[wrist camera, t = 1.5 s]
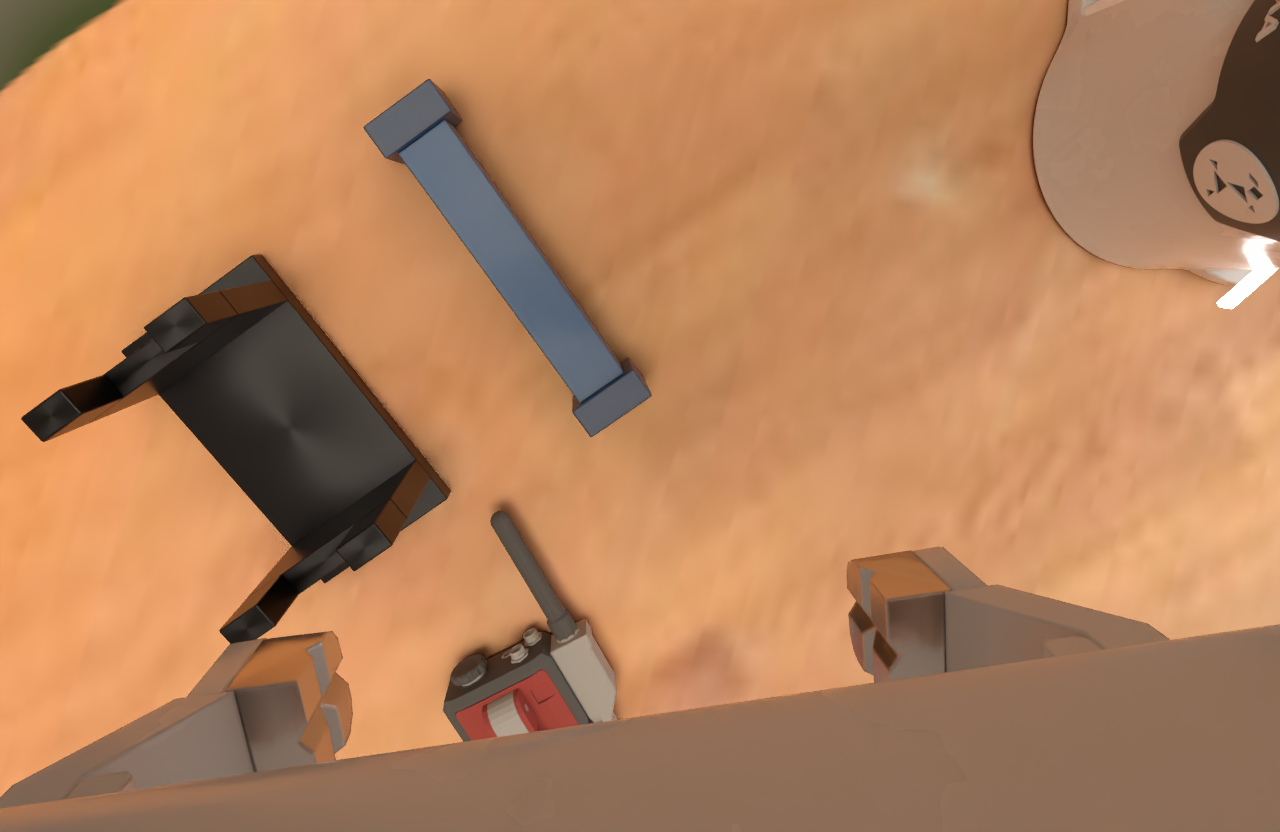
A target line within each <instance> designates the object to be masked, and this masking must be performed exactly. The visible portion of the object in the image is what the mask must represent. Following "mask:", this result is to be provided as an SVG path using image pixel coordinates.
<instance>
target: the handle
mask: <svg viewBox="0 0 1280 832" xmlns="http://www.w3.org/2000/svg"><path fill="white" fill-rule="evenodd" d="M461 121H462V118H461V117H460V115H459V114H458V112H457V111H456V110H455V108H454V107H453V105H452V104H451V102H450V101H449V100H448V98H447V97H446V95H445V94H444V92H443V91H442V90H441V89H440V88H439V87H438V86H437V85H435V84H434V83H433V82H432V81H431V80H430V79H428V80H426V81H425V82H424V83H422V84H421V85H420V86H418V87H417V88H416V89H414V90H413V91H411V92H410V93H409V94H407V95H406V96H405V97H403V98H402V99H401V100H399V101H398V102H397V103H395V104H394V105H393V106H391V107H390V108H388V109H387V110H386V111H384V112H383V113H382V114H380V115H379V116H378V117H376V118H375V119H374V120H372V121H371V122H369V123H368V124H367V125H365V126H364V129H365V131H366V132H367V134H368V135H369V136H370V138H371V139H372V140H373V142H374V143H375V144H376V146H377V147H378V148H379V150H380V151H381V153H382V154H383V155H384V157H385V158H387V159H390V160H393V161H396V162H399V163H402V164H403V163H405V164H406V165H407V167H408V168H409V169H410V171H411V172H412V173H413V175H414V176H415V178H416V179H417V180H418V182H419V183H420V184H421V186H422V187H423V189H424V190H425V191H426V193H427V194H428V195H429V197H430V198H431V200H432V201H433V202H434V204H435V205H436V206H437V208H438V209H439V210H440V212H441V213H442V215H443V216H444V217H445V219H446V220H447V221H448V223H449V224H450V226H451V227H452V228H453V230H454V231H455V232H456V234H457V235H458V237H459V238H460V239H461V241H462V242H463V243H464V245H465V246H466V247H467V249H468V250H469V252H470V253H471V254H472V256H473V257H474V258H475V260H476V261H477V263H478V264H479V265H480V267H481V268H482V269H483V271H484V272H485V274H486V275H487V276H488V278H489V279H490V280H491V282H492V283H493V284H494V286H495V287H496V289H497V290H498V291H499V293H500V294H501V295H502V297H503V298H504V300H505V301H506V302H507V304H508V305H509V306H510V308H511V309H512V311H513V312H514V313H515V315H516V316H517V317H518V319H519V320H520V322H521V323H522V324H523V326H524V327H525V328H526V330H527V331H528V332H529V334H530V335H531V337H532V338H533V339H534V341H535V342H536V343H537V345H538V346H539V348H540V349H541V350H542V352H543V353H544V354H545V356H546V357H547V359H548V360H549V361H550V363H551V364H552V365H553V367H554V368H555V369H556V371H557V372H558V374H559V375H560V376H561V378H562V379H563V380H564V382H565V383H566V385H567V386H568V387H569V389H570V390H571V391H572V393H573V394H574V395H573V407H572V412H573V414H574V415H575V417H576V418H577V419H578V421H579V422H580V423H581V425H582V426H583V427H584V429H585V430H586V431H587V433H588V434H589V436H590V437H593V436H594V435H596V434H597V433H599V432H600V431H601V430H603V429H604V428H606V427H607V426H609V425H610V424H612V423H613V422H615V421H616V420H617V419H619V418H620V417H622V416H623V415H625V414H626V413H628V412H629V411H631V410H632V409H633V408H635V407H636V406H638V405H639V404H641V403H642V402H644V401H645V400H647V399H648V398H649V397H651V396H652V395H651V392H650V390H649V388H648V385H647V383H646V381H645V379H644V378H643V376H642V375H641V374H640V372H639V371H638V369H637V368H636V366H635V365H634V364H633V362H632V361H631V359H630V358H627V359H625V360H624V361H622V362H621V363H620V361H619V360H618V359H617V357H616V356H615V354H614V353H613V351H612V350H611V349H610V347H609V346H608V344H607V343H606V342H605V340H604V339H603V337H602V336H601V334H600V333H599V332H598V330H597V329H596V327H595V326H594V324H593V323H592V322H591V320H590V319H589V317H588V316H587V315H586V313H585V312H584V310H583V309H582V307H581V306H580V305H579V303H578V302H577V300H576V299H575V298H574V296H573V295H572V293H571V292H570V290H569V289H568V288H567V286H566V285H565V283H564V282H563V281H562V279H561V278H560V276H559V275H558V273H557V272H556V271H555V269H554V268H553V266H552V265H551V264H550V262H549V261H548V259H547V258H546V256H545V255H544V254H543V252H542V251H541V249H540V248H539V246H538V245H537V244H536V242H535V241H534V239H533V238H532V237H531V235H530V234H529V232H528V231H527V229H526V228H525V227H524V225H523V224H522V222H521V221H520V220H519V218H518V217H517V215H516V214H515V212H514V211H513V210H512V208H511V207H510V205H509V204H508V203H507V201H506V200H505V198H504V197H503V195H502V194H501V193H500V191H499V190H498V188H497V187H496V186H495V184H494V183H493V181H492V180H491V178H490V177H489V176H488V174H487V173H486V171H485V170H484V168H483V167H482V166H481V164H480V163H479V161H478V160H477V159H476V157H475V156H474V154H473V153H472V151H471V150H470V149H469V147H468V146H467V144H466V143H465V142H464V140H463V139H462V137H461V136H460V134H459V133H458V132H457V130H456V129H455V127H454V126H455V125H457V124H458V123H459V122H461Z"/></svg>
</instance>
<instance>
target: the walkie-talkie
mask: <svg viewBox="0 0 1280 832" xmlns="http://www.w3.org/2000/svg"><path fill="white" fill-rule="evenodd" d="M490 522H491V525H492V527H493V529H494V530H495V532H496V534H497V535H498V537H499V539H500V540H501V542H502V544H503V545H504V547H505V549H506V550H507V552H508V554H509V555H510V557H511V559H512V560H513V562H514V564H515V565H516V567H517V569H518V570H519V572H520V574H521V575H522V577H523V579H524V580H525V582H526V584H527V585H528V587H529V589H530V590H531V592H532V594H533V595H534V597H535V599H536V600H537V602H538V604H539V605H540V607H541V609H542V610H543V612H544V614H545V615H546V617H547V619H548V620H547V624H548V626H549V627H550V629H551V631H552V632H553V634H552V635H551V634H548V633H546V632H544V631H542V632H537V630H536V628H531V629H529V630H527V631H526V632H525V633H524V634H523V638H524V640H525V641H523V642H521V643H519V644H517V645H515V646H513V647H511V648H509V649H507V650H505V651H503V652H501V653H499V654H497V655H495V656H493V657H491V658H489V659H486V658H485V656H483V655H482V654H478V655H472V656H470V657H468V658H466V659H464V660H463V661H462V662H461V663H459V664H458V665H457V666H456V667H455V668H454V670H453V671H452V673H451V677H450V683H449V686H448V690H447V693H446V697H445V701H444V708H443V711H444V713H445V714H446V716H447V717H448V719H449V720H450V722H451V723H452V725H453V726H454V728H455V729H456V731H457V732H458V734H459V736H460V737H461V739H462V740H463V742H467V741H474V740H480V739H487V738H494V737H501V736H508V735H515V734H522V733H529V732H536V731H543V730H550V729H557V728H564V727H571V726H577V725H584V724H591V723H598V722H605V721H612V720H617V718H616V715H615V714H614V712H613V707H614V702H615V697H616V680H615V673H614V672H613V670H612V668H611V666H610V665H609V663H608V661H607V660H606V658H605V656H604V654H603V653H602V651H601V649H600V648H599V646H598V644H597V642H596V641H595V639H594V637H593V635H592V629H591V627H590V625H589V624H588V622H587V620H586V619H582V620H580V621H578V622H576V623H575V622H574V620H573V618H572V616H571V615H570V613H569V611H568V610H567V609H564V608H563V606H562V604H561V603H560V601H559V599H558V598H557V596H556V594H555V593H554V591H553V589H552V587H551V586H550V584H549V582H548V581H547V579H546V577H545V576H544V574H543V572H542V571H541V569H540V567H539V566H538V564H537V562H536V561H535V559H534V557H533V556H532V554H531V552H530V550H529V549H528V547H527V545H526V544H525V542H524V540H523V539H522V537H521V535H520V534H519V532H518V530H517V529H516V527H515V525H514V524H513V522H512V520H511V519H510V517H509V515H508V514H507V513H505V512H503V511H497V512H495V513H494V514H493V515H492V517H491V520H490Z"/></svg>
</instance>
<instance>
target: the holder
mask: <svg viewBox="0 0 1280 832" xmlns="http://www.w3.org/2000/svg"><path fill="white" fill-rule="evenodd" d="M144 329H145V330H146V331H147V333H145V334H144V335H143V336H141V337H140V338H138V339H137V340H136V341H134V342H133V343H132V344H130V345H129V346H127V347H126V348H125V349H123V350H122V353H123V354H124V355H125V356H126V359H124V360H123V361H122V362H120V363H119V364H118V365H116V366H115V367H114V368H112V369H111V370H109V371H108V372H107V373H105V374H104V375H102V376H99V377H96V378H93V379H90V380H87V381H84V382H81V383H78V384H74V385H71V386H68V387H65V388H62V389H59V390H58V391H57V392H55V393H54V394H53V395H51V396H50V397H48V398H47V399H46V400H44V401H43V402H42V403H40V404H39V405H38V406H36V407H35V408H33V409H32V410H31V411H29V412H28V413H27V414H25V415H24V416H23V417H22V418H21V419H22V421H23V422H24V423H25V424H26V425H27V426H28V427H29V428H30V429H31V430H32V431H33V432H34V433H35V435H36V436H37V437H38V438H39V439H40V440H41V441H43V442H45V441H48V440H50V439H53V438H55V437H57V436H60V435H62V434H65V433H67V432H69V431H72V430H74V429H76V428H79V427H81V426H84V425H86V424H88V423H91V422H94V421H96V420H98V419H101V418H103V417H105V416H108V415H110V414H113V413H115V412H117V411H120V410H122V409H125V408H127V407H129V406H132V405H134V404H136V403H139V402H141V401H144V400H146V399H148V398H151V397H153V396H155V395H158V394H159V395H160V396H161V397H162V399H163V400H164V401H165V402H166V403H167V404H168V405H169V407H170V408H171V409H172V410H173V411H174V412H175V413H176V415H177V416H178V417H179V418H180V419H181V420H182V421H183V423H184V424H185V425H186V426H187V427H188V428H189V429H190V430H191V432H192V433H193V434H194V435H195V436H196V437H197V438H198V440H199V441H200V442H201V443H202V444H203V445H204V446H205V448H206V449H207V450H208V451H209V452H210V453H211V454H212V456H213V457H214V458H215V459H216V460H217V461H218V462H219V464H220V465H221V466H222V467H223V468H224V469H225V470H226V472H227V473H228V474H229V475H230V476H231V477H232V478H233V480H234V481H235V482H236V483H237V484H238V485H239V486H240V487H241V489H242V490H243V491H244V492H245V493H246V494H247V495H248V497H249V498H250V499H251V500H252V501H253V502H254V503H255V505H256V506H257V507H258V508H259V509H260V510H261V511H262V513H263V514H264V515H265V516H266V517H267V518H268V519H269V521H270V522H271V523H272V524H273V525H274V526H275V527H276V529H277V530H278V531H279V532H280V533H281V534H282V535H283V537H284V538H285V539H286V540H287V541H288V542H289V543H290V544H291V546H292V547H291V548H290V549H289V550H288V551H287V553H286V554H285V555H284V556H283V557H282V558H281V560H280V561H279V562H278V563H277V564H276V565H275V566H274V568H273V569H272V570H271V571H270V572H269V573H268V575H267V576H266V577H265V578H264V579H263V580H262V581H261V583H260V584H259V585H258V586H257V587H256V588H255V590H254V591H253V592H252V593H251V594H250V595H249V596H248V598H247V599H246V600H245V601H244V602H243V603H242V605H241V606H240V607H239V608H238V609H237V610H236V612H235V613H234V614H233V615H232V616H231V617H230V618H229V620H228V621H227V622H226V623H225V624H224V625H223V627H222V628H221V629H220V630H219V631H220V633H221V634H222V635H223V636H224V637H225V638H226V639H227V640H228V641H229V642H230V644H232V643H238V642H244V641H250V640H256V639H257V638H259V637H260V636H262V635H263V634H265V633H266V632H268V631H269V630H270V629H272V628H273V627H275V626H276V625H277V623H278V622H279V620H280V619H281V618H282V616H283V615H284V614H285V612H286V611H287V610H288V608H289V607H290V606H291V604H292V603H293V601H294V600H295V599H296V597H297V596H298V595H299V594H300V593H301V592H303V591H304V590H306V589H307V588H309V587H310V586H311V585H313V584H314V583H316V582H317V581H319V580H320V579H321V580H322V581H323V582H324V583H326V582H328V581H329V580H331V579H332V578H334V577H335V576H336V575H338V574H339V573H341V572H342V571H344V570H345V569H347V568H348V567H349V566H350V567H351V569H352V570H353V571H356V570H357V569H359V568H360V567H362V566H363V565H365V564H366V563H367V562H369V561H370V560H372V559H373V558H375V557H376V556H378V555H379V554H380V553H382V552H383V551H385V550H386V549H388V548H389V547H391V546H392V545H393V543H394V541H395V539H396V538H397V536H398V534H399V532H400V531H401V530H403V529H404V528H406V527H407V526H409V525H410V524H412V523H413V522H415V521H416V520H417V519H419V518H420V517H422V516H423V515H425V514H426V513H428V512H429V511H430V510H432V509H433V508H435V507H436V506H438V505H439V504H441V503H442V502H443V501H445V500H446V499H447V498H448V496H449V494H450V492H451V491H450V490H449V488H448V487H447V486H446V485H445V483H444V482H443V481H442V480H441V478H440V477H439V476H438V475H437V473H436V472H435V471H434V470H433V468H432V467H431V466H430V465H429V463H428V462H427V461H426V460H425V458H424V457H423V456H422V455H421V453H420V452H419V451H418V450H417V448H416V447H415V446H414V445H413V443H412V442H411V441H410V440H409V438H408V437H407V436H406V435H405V433H404V432H403V431H402V430H401V428H400V427H399V426H398V425H397V423H396V422H395V421H394V420H393V418H392V417H391V416H390V415H389V413H388V412H387V411H386V410H385V408H384V407H383V406H382V405H381V403H380V402H379V401H378V400H377V398H376V397H375V396H374V395H373V393H372V392H371V391H370V390H369V389H368V387H367V386H366V385H365V384H364V382H363V381H362V380H361V379H360V377H359V376H358V375H357V374H356V372H355V371H354V370H353V369H352V367H351V366H350V365H349V364H348V362H347V361H346V360H345V359H344V357H343V356H342V355H341V354H340V352H339V351H338V350H337V349H336V347H335V346H334V345H333V344H332V342H331V341H330V340H329V339H328V337H327V336H326V335H325V334H324V332H323V331H322V330H321V329H320V327H319V326H318V325H317V324H316V322H315V321H314V320H313V319H312V317H311V316H310V315H309V314H308V312H307V311H306V310H305V309H304V307H303V306H302V305H301V304H300V302H299V301H298V300H297V299H296V297H295V296H294V295H293V294H292V292H291V291H290V290H289V289H288V287H287V286H286V285H285V284H284V282H283V281H282V280H281V279H280V277H279V276H278V275H277V274H276V272H275V271H274V270H273V269H272V267H271V266H270V265H269V264H268V262H267V261H266V260H265V259H264V257H263V256H262V255H253V256H250V257H249V258H248V259H246V260H245V261H243V262H242V263H241V264H239V265H238V266H237V267H235V268H234V269H233V270H231V271H230V272H228V273H227V274H226V275H224V276H223V277H222V278H220V279H219V280H218V281H216V282H215V283H213V284H212V285H211V286H209V287H208V288H207V289H205V290H204V291H203V292H201V293H200V294H198V295H195V296H190V297H185V298H183V299H182V300H180V301H179V302H178V303H176V304H175V305H174V306H172V307H171V308H169V309H168V310H167V311H165V312H164V313H163V314H161V315H160V316H159V317H157V318H156V319H154V320H153V321H152V322H150V323H149V324H148V325H146V326H145V327H144Z"/></svg>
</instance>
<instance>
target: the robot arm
mask: <svg viewBox="0 0 1280 832" xmlns="http://www.w3.org/2000/svg"><path fill="white" fill-rule="evenodd" d="M1033 152H1034V162H1035V168H1036V173H1037V177H1038V181H1039V185H1040V188H1041V191H1042V193H1043V196H1044V198H1045V201H1046V203H1047V205H1048V207H1049V209H1050V210H1051V212H1052V214H1053V216H1054V217H1055V219H1056V220H1057V222H1058V223H1059V224H1060V226H1061V227H1062V228H1063V229H1064V231H1065V232H1066V233H1067V234H1068V235H1069V236H1070V237H1071V238H1072V239H1073V240H1074V241H1075V242H1077V243H1078V244H1079V245H1080V246H1081V247H1083V248H1084V249H1086V250H1087V251H1089V252H1090V253H1092V254H1093V255H1095V256H1097V257H1099V258H1101V259H1103V260H1106V261H1108V262H1111V263H1114V264H1117V265H1121V266H1125V267H1130V268H1138V269H1183V270H1188V271H1190V272H1192V273H1194V274H1196V275H1198V276H1200V277H1203V278H1205V279H1207V280H1209V281H1212V282H1215V283H1218V284H1223V285H1236V286H1235V287H1234V288H1233V289H1232V290H1230V291H1229V292H1228V293H1227V294H1226V295H1225V296H1224V297H1222V298H1221V299H1220V300H1219V301H1218V302H1217V305H1218V306H1219V307H1221V308H1228V309H1233V308H1234V307H1235V306H1236V305H1238V304H1239V303H1240V302H1241V301H1242V300H1243V299H1244V298H1246V297H1247V296H1248V295H1249V294H1250V293H1251V292H1252V291H1254V290H1255V289H1256V288H1257V287H1258V286H1259V285H1261V284H1262V283H1263V282H1264V281H1265V280H1266V279H1267V278H1269V277H1270V276H1271V275H1272V274H1273V273H1274V272H1275V271H1277V270H1278V269H1280V0H1069V5H1068V17H1067V26H1066V30H1065V33H1064V36H1063V38H1062V41H1061V43H1060V45H1059V47H1058V50H1057V52H1056V54H1055V56H1054V58H1053V60H1052V62H1051V64H1050V66H1049V69H1048V71H1047V73H1046V76H1045V78H1044V81H1043V84H1042V87H1041V90H1040V94H1039V98H1038V102H1037V107H1036V112H1035V118H1034V128H1033ZM847 589H848V590H849V591H850V593H851V594H852V595H853V597H854V598H855V600H856V603H855V604H854V606H853V607H852V609H851V611H850V612H849V626H850V635H851V640H852V644H853V649H854V652H855V655H856V657H857V660H858V662H859V664H860V665H861V667H862V668H863V670H864V671H865V672H867V673H870V674H872V675H874V683H869V684H862V685H855V686H848V687H841V688H834V689H827V690H820V691H813V692H806V693H799V694H792V695H785V696H778V697H771V698H765V699H758V700H751V701H744V702H737V703H730V704H723V705H716V706H709V707H702V708H695V709H688V710H681V711H674V712H668V713H661V714H654V715H647V716H640V717H633V718H626V719H619V720H612V721H605V722H598V723H591V724H584V725H577V726H571V727H564V728H557V729H550V730H543V731H536V732H529V733H522V734H515V735H508V736H501V737H494V738H487V739H480V740H474V741H467V742H460V743H453V744H446V745H439V746H432V747H425V748H418V749H411V750H404V751H397V752H390V753H383V754H377V755H370V756H363V757H356V758H349V759H342V760H336V758H335V753H336V752H337V751H339V750H340V749H341V748H343V747H344V746H345V745H346V743H347V740H348V737H349V735H350V732H351V724H352V715H353V713H352V699H351V694H350V689H349V684H348V683H347V682H346V681H345V680H344V679H343V678H342V677H340V676H339V675H338V674H337V673H336V670H337V668H338V666H339V664H340V662H341V660H342V658H343V657H342V653H341V649H340V645H339V641H338V638H337V636H336V635H335V634H334V633H333V631H329V632H321V633H312V634H304V635H295V636H287V637H279V638H270V639H266V638H262V639H256V640H250V641H244V642H238V643H232V644H230V645H229V646H228V647H227V648H226V650H225V651H224V652H223V653H222V655H221V656H220V657H219V658H218V659H217V661H216V662H215V663H214V664H213V666H212V667H211V668H210V669H209V670H208V672H207V673H206V674H205V675H204V676H203V678H202V679H201V680H200V681H199V683H198V684H197V685H196V686H195V687H194V689H193V690H192V691H191V692H190V694H189V695H188V696H187V697H186V698H179V699H175V700H173V701H171V702H169V703H167V704H165V705H163V706H161V707H159V708H158V709H156V710H154V711H152V712H150V713H148V714H146V715H144V716H142V717H141V718H139V719H137V720H135V721H133V722H131V723H129V724H127V725H126V726H124V727H122V728H120V729H118V730H116V731H114V732H112V733H110V734H109V735H107V736H105V737H103V738H101V739H99V740H97V741H95V742H93V743H92V744H90V745H88V746H86V747H84V748H82V749H80V750H78V751H76V752H75V753H73V754H71V755H69V756H67V757H65V758H63V759H61V760H59V761H58V762H56V763H54V764H52V765H50V766H48V767H46V768H44V769H42V770H41V771H39V772H37V773H35V774H33V775H31V776H29V777H27V778H25V779H24V780H22V781H20V782H18V783H16V784H14V785H12V786H11V787H10V788H9V789H8V790H7V791H6V792H5V793H4V794H3V795H2V796H1V797H0V832H1280V624H1278V625H1271V626H1264V627H1257V628H1250V629H1243V630H1236V631H1229V632H1222V633H1215V634H1208V635H1202V636H1195V637H1188V638H1181V639H1174V640H1170V639H1169V638H1167V637H1166V636H1164V635H1163V634H1162V633H1160V632H1159V631H1157V630H1156V629H1155V628H1153V627H1152V626H1150V625H1149V624H1147V623H1143V622H1139V621H1135V620H1131V619H1128V618H1124V617H1120V616H1116V615H1112V614H1108V613H1104V612H1101V611H1097V610H1093V609H1089V608H1085V607H1081V606H1077V605H1074V604H1070V603H1066V602H1062V601H1058V600H1054V599H1050V598H1047V597H1043V596H1039V595H1035V594H1031V593H1027V592H1023V591H1020V590H1016V589H1012V588H1008V587H1004V586H1000V585H991V586H987V585H986V584H985V583H984V582H983V581H981V580H980V579H979V578H978V577H977V576H976V575H975V574H973V573H972V572H971V571H970V570H969V569H968V568H966V567H965V566H964V565H963V564H962V563H961V562H960V561H958V560H957V559H956V558H955V557H954V556H953V555H952V554H950V553H949V552H948V551H947V550H946V549H945V548H944V547H933V548H927V549H921V550H916V551H911V550H910V551H904V552H898V553H891V554H885V555H879V556H873V557H866V558H860V559H854V560H851V561H850V562H848V565H847Z"/></svg>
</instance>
